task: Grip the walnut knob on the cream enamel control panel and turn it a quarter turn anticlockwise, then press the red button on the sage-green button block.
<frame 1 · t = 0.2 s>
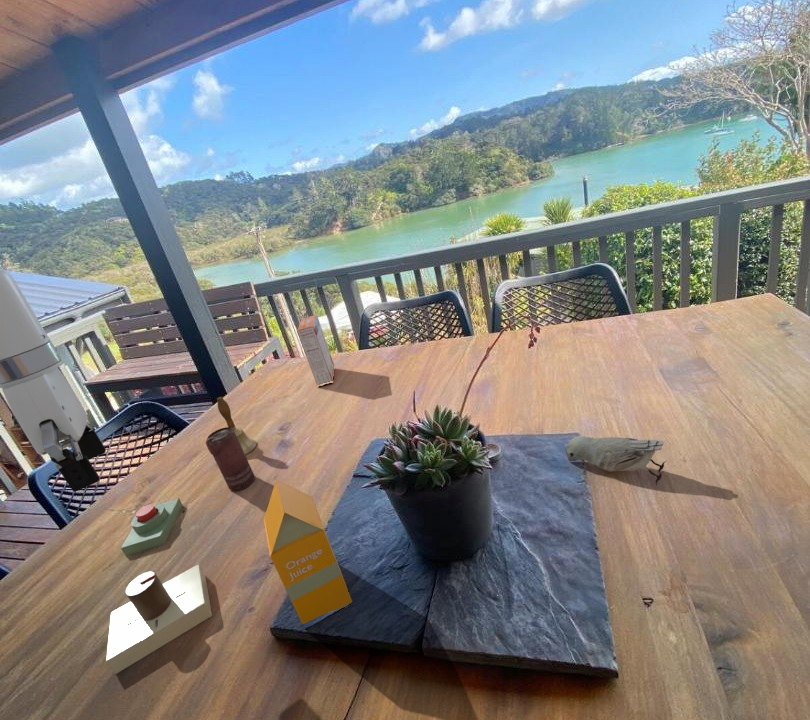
hand: (91, 470, 63), 28 cm above the table, tool pointing down, fingers open, 9 cm apart
orange juice: (323, 595, 68), on the table
hand bell: (242, 450, 117), on the table
button: (146, 513, 92), point 4 cm above the table, slide at 0.1 cm
button block: (156, 529, 94), on the table
decorative bird: (613, 471, 77), on the table
can: (242, 484, 102), on the table
knob: (148, 594, 68), point 6 cm above the table, hinge at 0.0°
cracker box: (326, 378, 150), on the table
panel: (165, 620, 70), on the table
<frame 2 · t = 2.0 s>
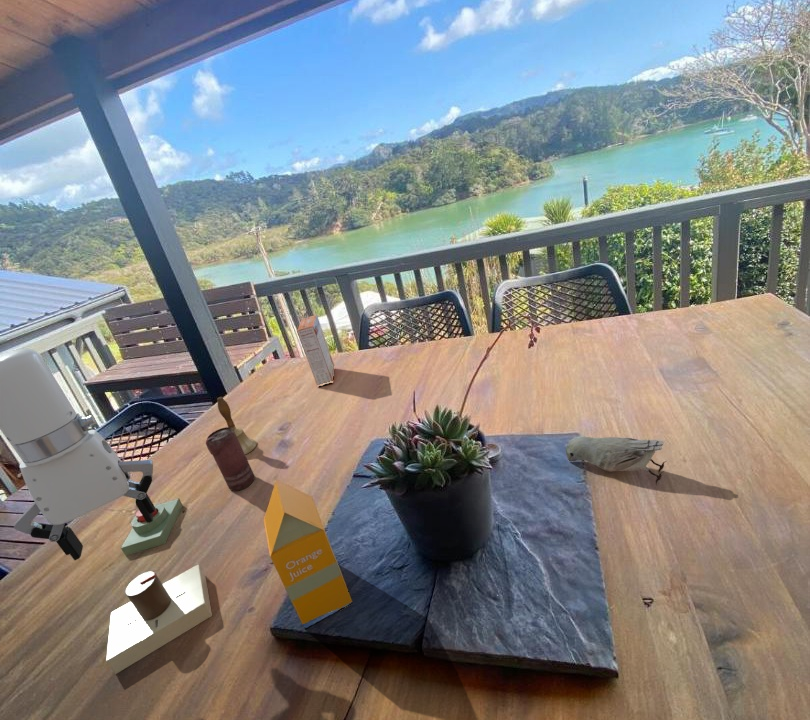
hand: (115, 535, 64), 18 cm above the table, tool pointing down, fingers open, 9 cm apart
nothing on the table moved.
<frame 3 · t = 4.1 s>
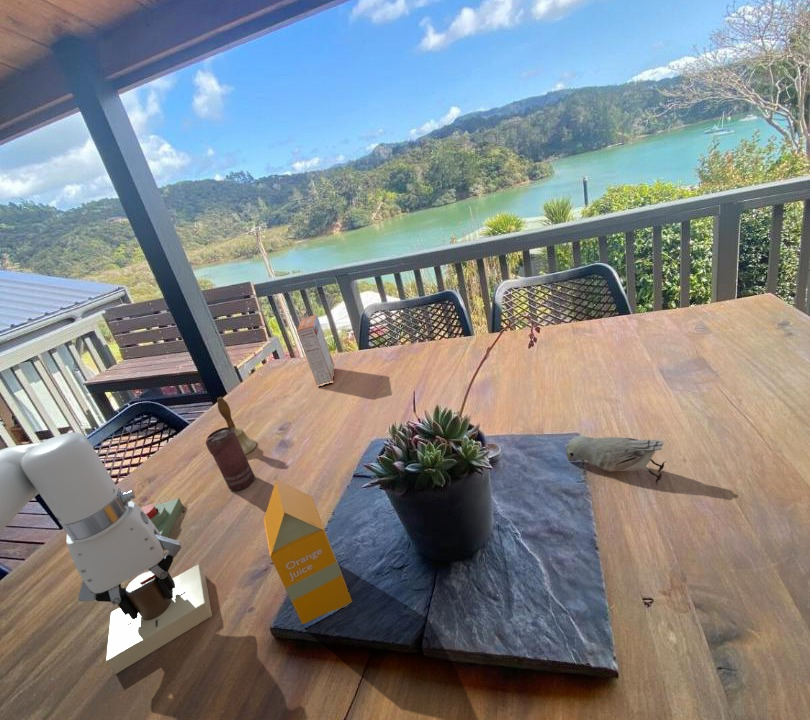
hand: (152, 601, 69), 4 cm above the table, tool pointing down, fingers closed on knob, 4 cm apart
knob: (148, 594, 68), point 6 cm above the table, hinge at 0.1°, touching gripper
everything else where it was.
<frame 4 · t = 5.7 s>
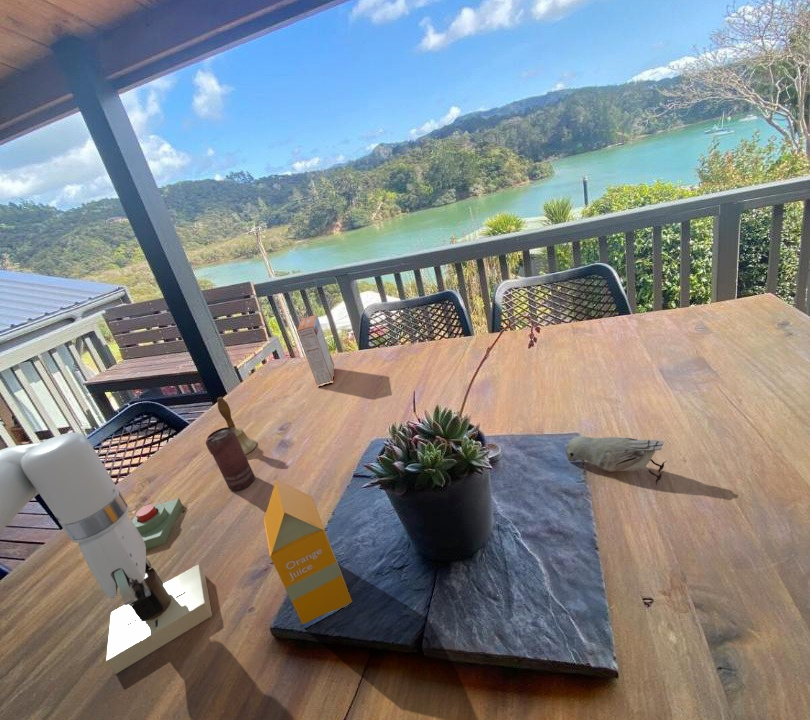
hand: (152, 601, 69), 4 cm above the table, tool pointing down, fingers closed on knob, 4 cm apart
knob: (148, 594, 68), point 6 cm above the table, hinge at 89.6°, touching gripper
everything else where it was.
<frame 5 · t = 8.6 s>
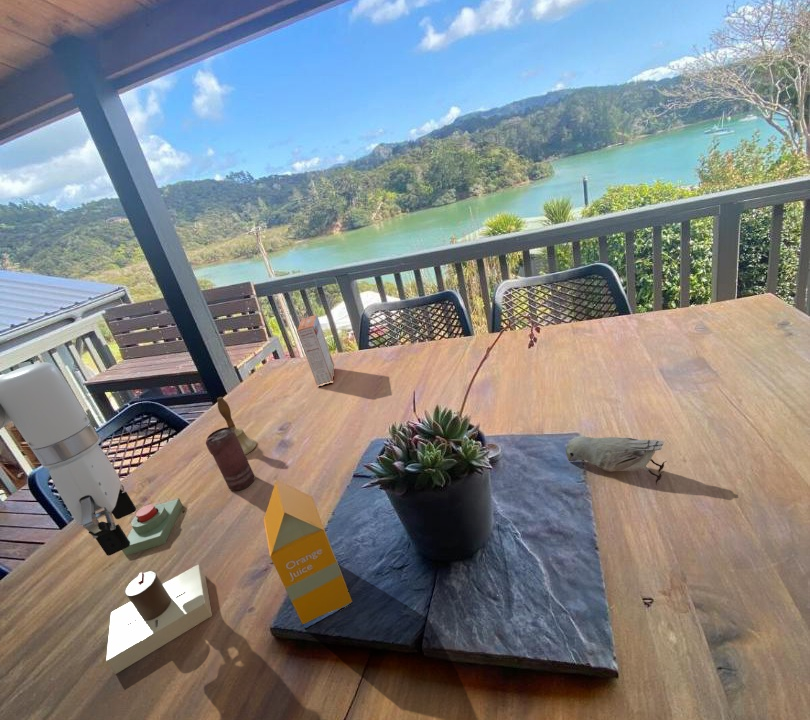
hand: (123, 531, 70), 15 cm above the table, tool pointing down, fingers open, 9 cm apart
knob: (148, 594, 68), point 6 cm above the table, hinge at 88.6°
everything else where it was.
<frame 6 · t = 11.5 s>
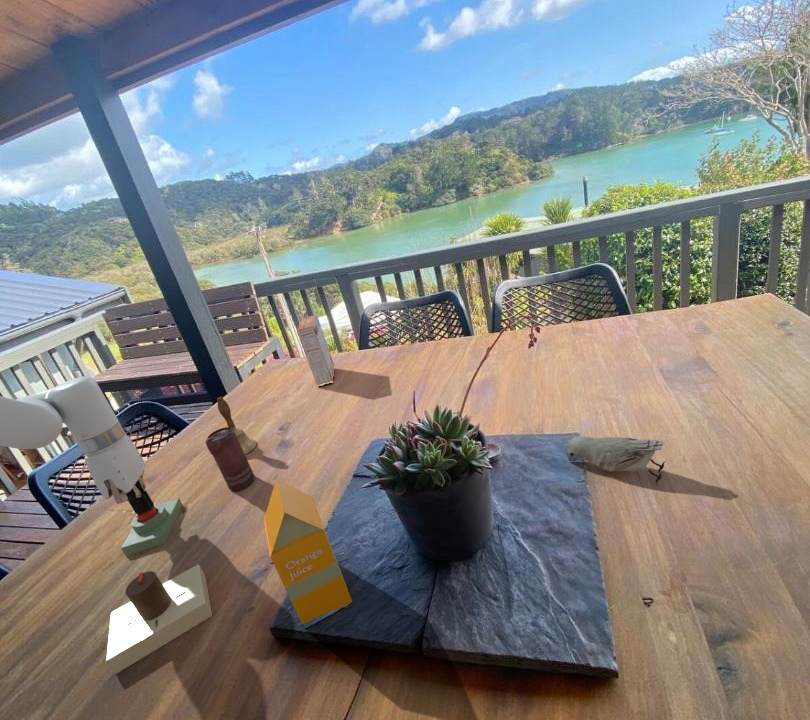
hand: (145, 509, 92), 5 cm above the table, tool pointing down, fingers closed
button: (146, 513, 92), point 4 cm above the table, slide at 0.1 cm, touching gripper
everything else where it was.
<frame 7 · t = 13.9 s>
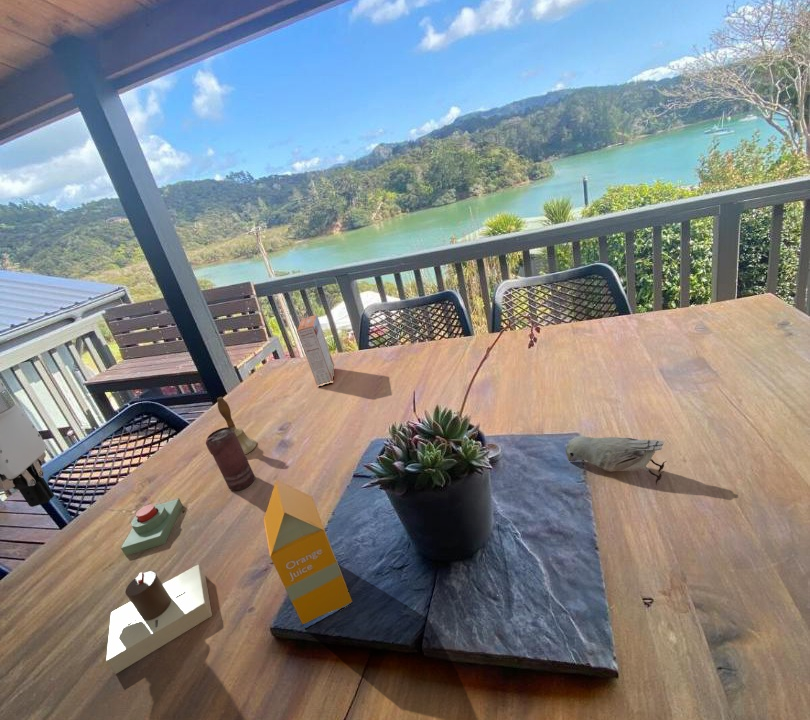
hand: (42, 501, 75), 20 cm above the table, tool pointing down, fingers closed
button: (146, 513, 92), point 4 cm above the table, slide at 0.1 cm
everything else where it was.
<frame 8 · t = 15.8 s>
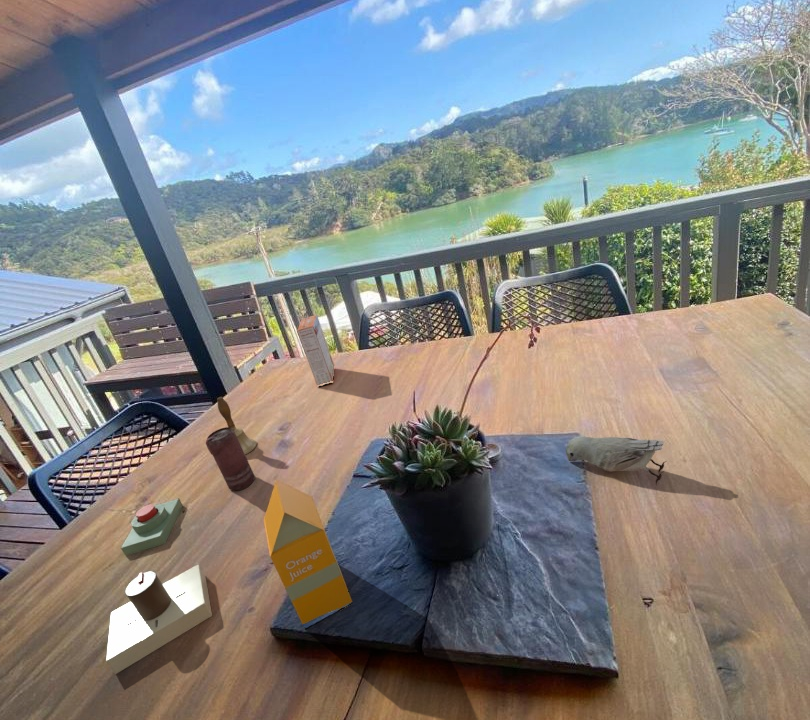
nothing on the table moved.
at the end: knob at +89° (first picture: +0°); button pushed in 1.1 cm at the most during the clip, back to where it started at the end; button slide at 0.1 cm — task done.
